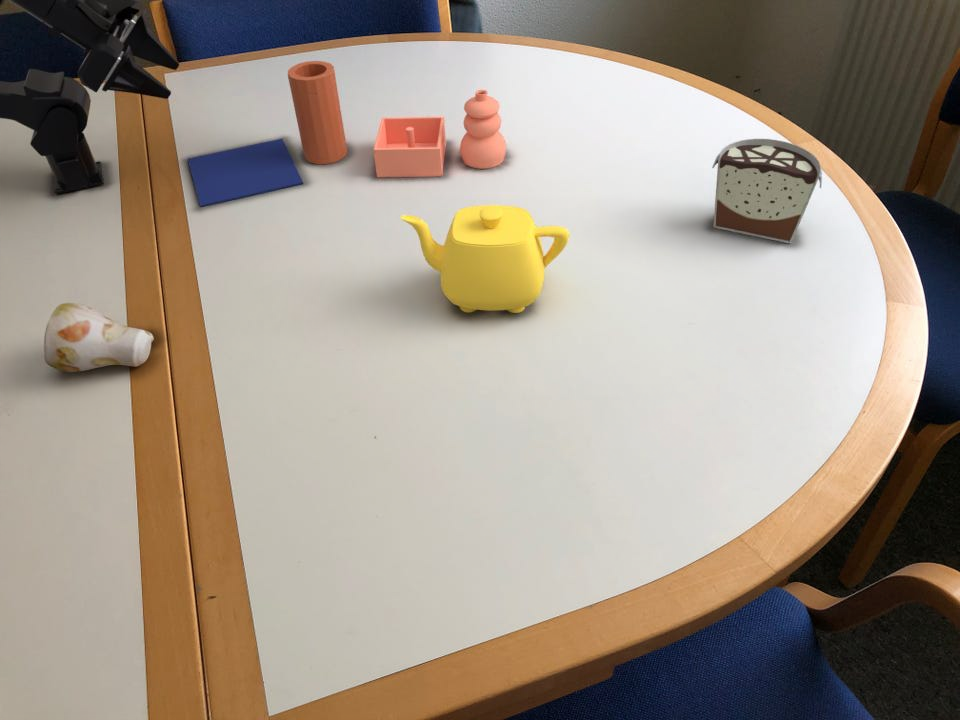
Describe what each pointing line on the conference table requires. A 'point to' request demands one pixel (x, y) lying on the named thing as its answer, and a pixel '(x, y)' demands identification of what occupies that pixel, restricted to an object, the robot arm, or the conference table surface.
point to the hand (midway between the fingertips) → (173, 80)
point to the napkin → (243, 172)
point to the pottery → (439, 141)
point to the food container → (764, 187)
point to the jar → (318, 111)
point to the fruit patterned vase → (91, 340)
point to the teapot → (491, 257)
